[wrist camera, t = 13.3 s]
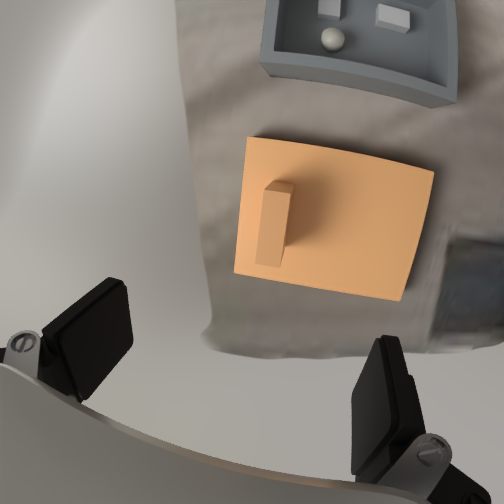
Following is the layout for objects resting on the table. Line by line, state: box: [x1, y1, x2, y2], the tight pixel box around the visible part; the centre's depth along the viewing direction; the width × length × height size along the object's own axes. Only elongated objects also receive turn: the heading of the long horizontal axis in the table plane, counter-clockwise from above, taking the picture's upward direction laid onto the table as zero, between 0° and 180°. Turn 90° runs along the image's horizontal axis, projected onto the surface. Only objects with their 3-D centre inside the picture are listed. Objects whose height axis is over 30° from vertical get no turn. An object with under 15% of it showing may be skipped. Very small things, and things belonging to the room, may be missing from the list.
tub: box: [259, 0, 458, 108], centre depth 19 cm, size 16×12×6 cm
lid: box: [234, 137, 434, 301], centre depth 26 cm, size 17×13×7 cm
